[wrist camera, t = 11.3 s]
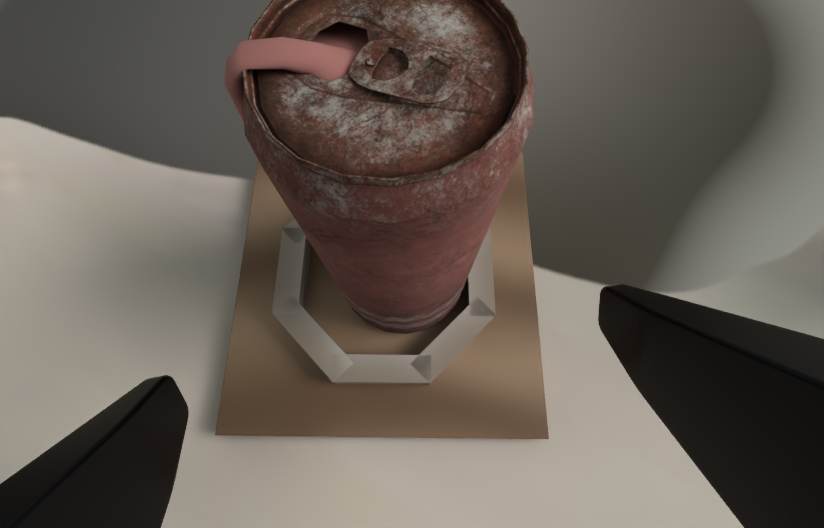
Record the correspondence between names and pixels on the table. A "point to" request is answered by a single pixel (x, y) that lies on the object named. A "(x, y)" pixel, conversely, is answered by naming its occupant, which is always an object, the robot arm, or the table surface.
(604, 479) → the table surface
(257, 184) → the cup holder
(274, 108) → the can
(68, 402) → the table surface
